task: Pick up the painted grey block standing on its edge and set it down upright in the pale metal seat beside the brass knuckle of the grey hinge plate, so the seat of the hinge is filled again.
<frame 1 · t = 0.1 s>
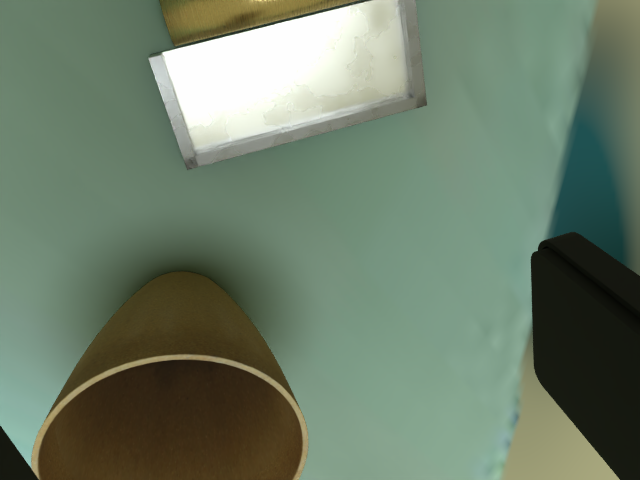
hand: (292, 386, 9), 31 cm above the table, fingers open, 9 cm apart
plant pot: (182, 305, 44), on the table
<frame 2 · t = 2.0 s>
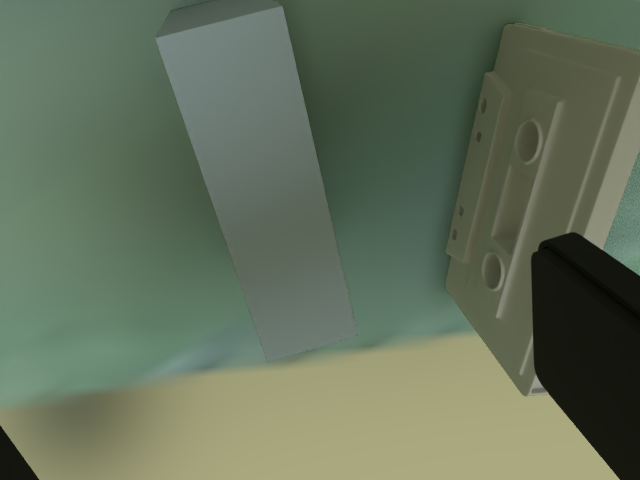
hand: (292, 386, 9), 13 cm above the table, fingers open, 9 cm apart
grey block: (253, 137, 21), on the table
cassette: (477, 168, 24), on the table
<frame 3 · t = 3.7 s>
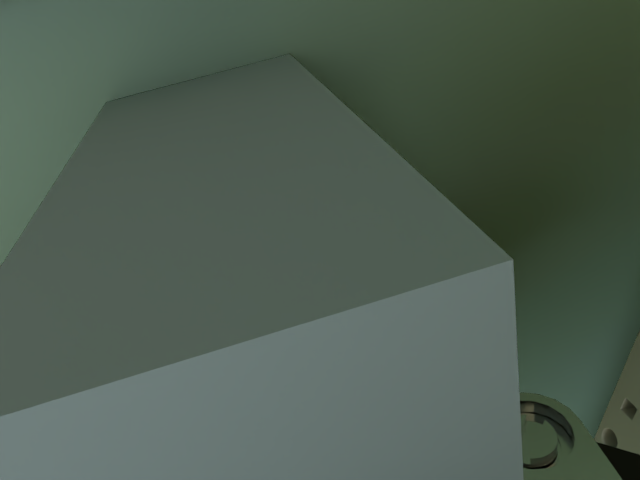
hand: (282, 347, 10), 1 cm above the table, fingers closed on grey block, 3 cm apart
grey block: (277, 322, 11), on the table, touching gripper
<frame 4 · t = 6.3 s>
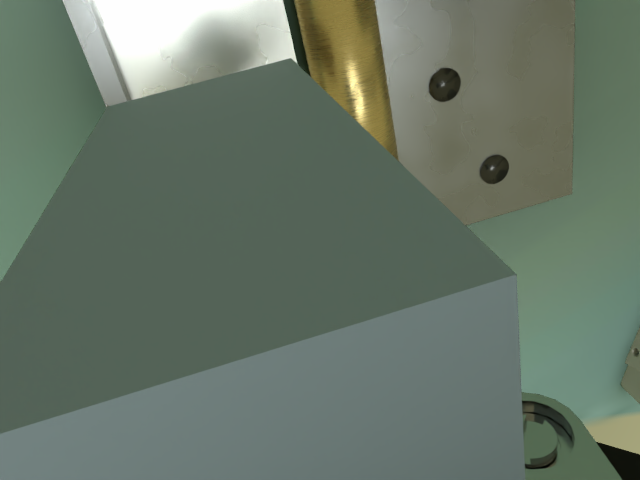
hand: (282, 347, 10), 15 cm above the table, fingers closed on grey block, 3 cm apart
grey block: (277, 325, 11), point 14 cm above the table, touching gripper
hinge base: (345, 101, 24), on the table
when the fingers open (3 cm above the table, at t = 9.2 s): grey block drops 1 cm, resting on hinge base.
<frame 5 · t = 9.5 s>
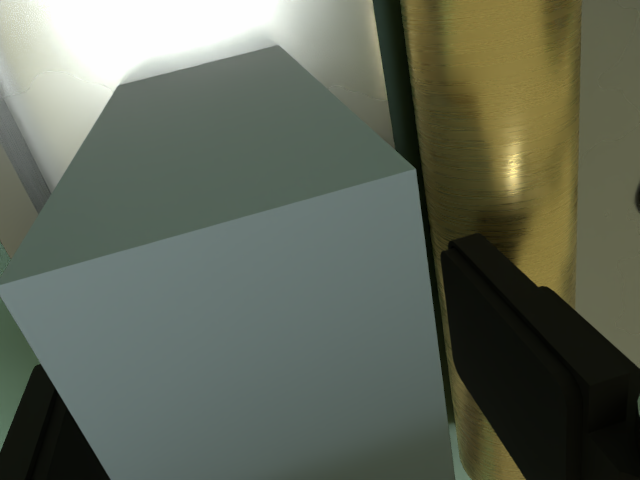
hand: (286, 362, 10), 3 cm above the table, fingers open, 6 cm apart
grey block: (267, 287, 12), point 1 cm above the table, touching hinge base
hinge base: (470, 213, 13), on the table
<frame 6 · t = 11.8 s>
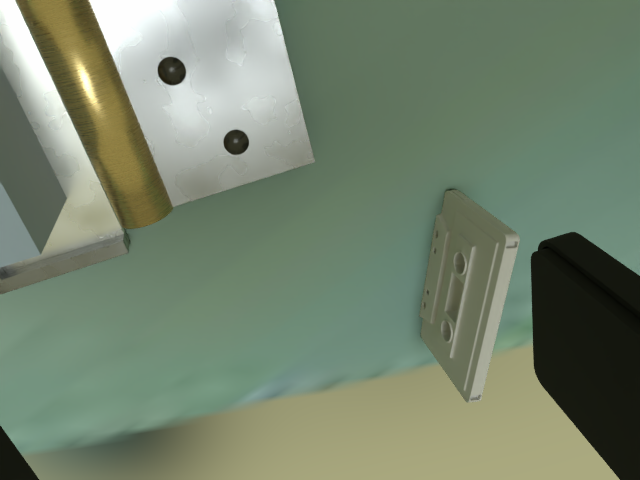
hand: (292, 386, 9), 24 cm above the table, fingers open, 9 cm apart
cassette: (435, 265, 39), on the table
hinge base: (97, 88, 28), on the table
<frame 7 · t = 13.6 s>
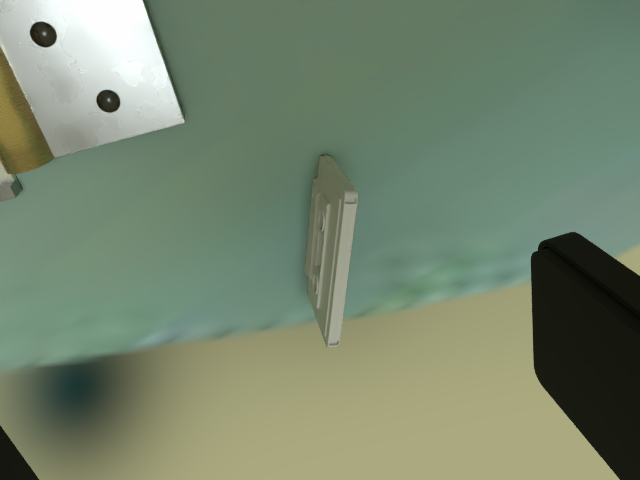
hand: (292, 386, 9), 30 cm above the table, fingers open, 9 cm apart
cassette: (317, 226, 43), on the table
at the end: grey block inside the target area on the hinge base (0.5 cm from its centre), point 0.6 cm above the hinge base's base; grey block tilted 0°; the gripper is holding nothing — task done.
